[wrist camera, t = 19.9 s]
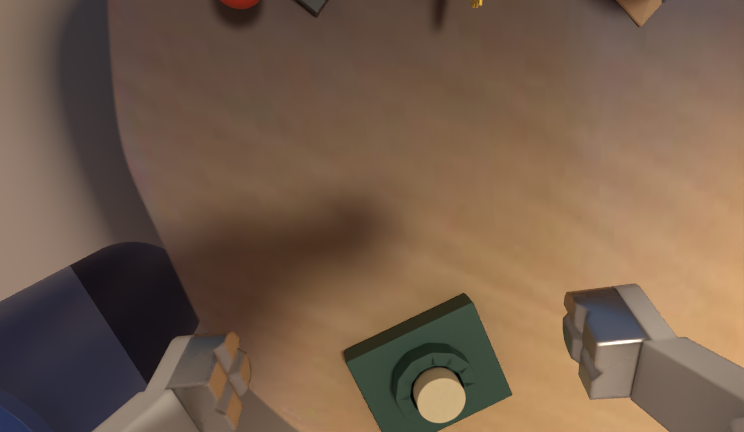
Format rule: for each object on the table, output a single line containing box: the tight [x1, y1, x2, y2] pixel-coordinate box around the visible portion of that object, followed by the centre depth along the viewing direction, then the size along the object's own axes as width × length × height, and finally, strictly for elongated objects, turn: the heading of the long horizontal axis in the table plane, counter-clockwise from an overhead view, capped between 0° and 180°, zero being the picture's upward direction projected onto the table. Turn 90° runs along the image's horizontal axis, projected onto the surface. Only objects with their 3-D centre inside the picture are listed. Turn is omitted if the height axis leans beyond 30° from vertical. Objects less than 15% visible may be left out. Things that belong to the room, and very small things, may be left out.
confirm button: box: [413, 367, 466, 423], centre depth 36 cm, size 4×4×2 cm
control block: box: [345, 293, 512, 432], centre depth 38 cm, size 12×10×4 cm
